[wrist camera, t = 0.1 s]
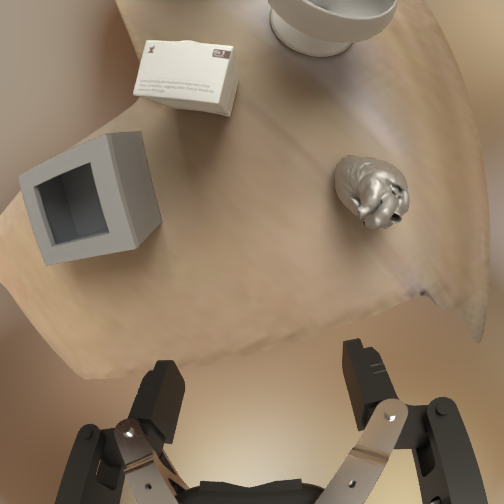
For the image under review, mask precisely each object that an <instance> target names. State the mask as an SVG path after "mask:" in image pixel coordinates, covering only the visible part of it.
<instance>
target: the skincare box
mask: <svg viewBox="0 0 504 504" xmlns="http://www.w3.org/2000/svg"><path fill="white" fill-rule="evenodd" d="M238 82H239V76H238V69H237V63H236V57H235V51H234V47H233V46H226V45H216V44H206V43H198V42H195V41H190V40H182V41H158V40H147V41H146V43H145V47H144V51H143V54H142V58H141V62H140V66H139V71H138V75H137V80H136V84H135V88H134V93H133V95H135V96H140V97H143V98H146V99H149V100H152V101H155V102H157V103H160V104H163V105H166V106H169V107H171V108H174V109H186V110H196V111H203V112H209V113H214V114H219V115H223V116H227V117H230V116H231V112H232V107H233V103H234V99H235V94H236V90H237V86H238Z"/></svg>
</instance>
